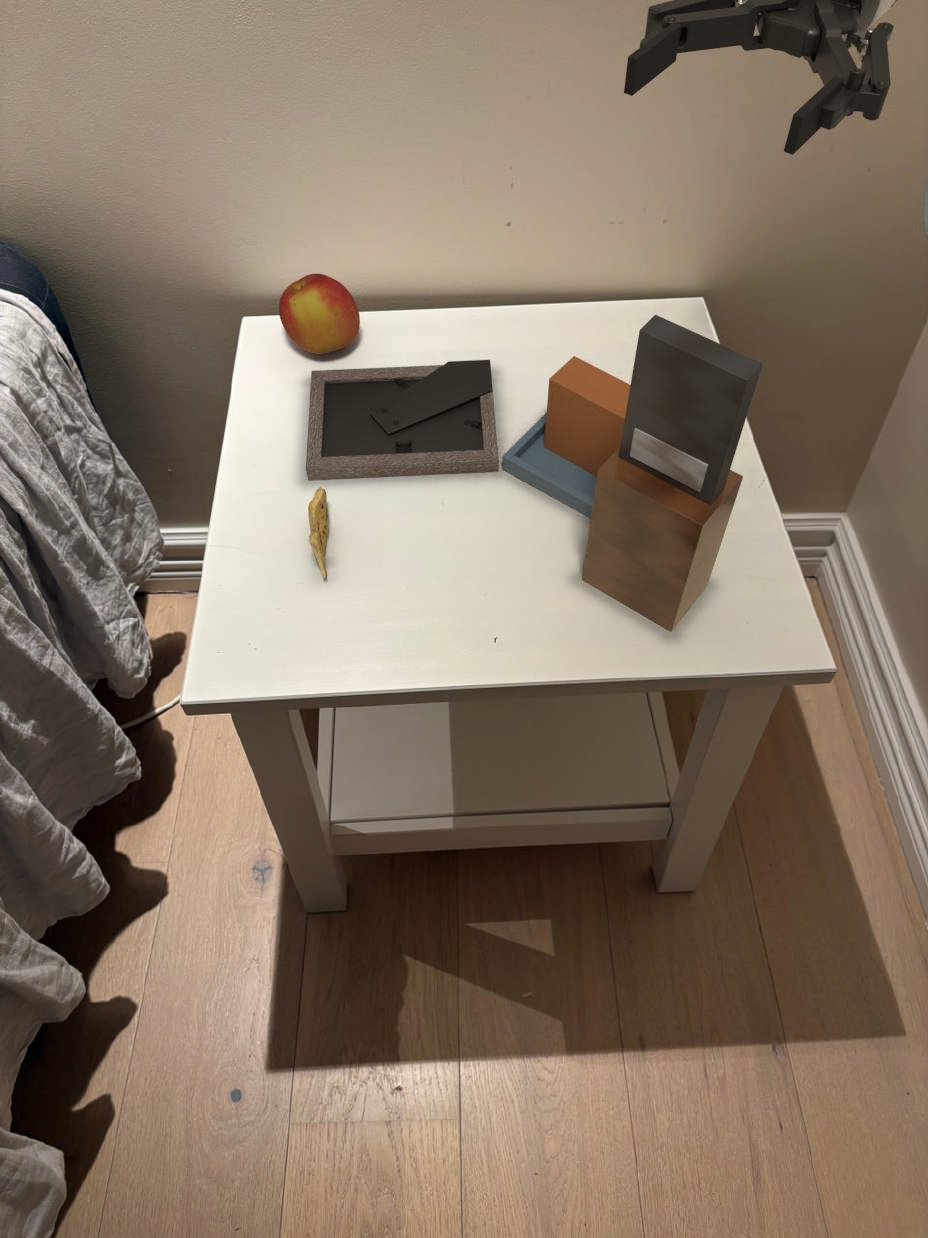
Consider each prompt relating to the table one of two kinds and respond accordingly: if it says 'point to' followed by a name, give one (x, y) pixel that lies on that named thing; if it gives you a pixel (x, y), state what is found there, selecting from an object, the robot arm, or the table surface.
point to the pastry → (318, 526)
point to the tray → (550, 470)
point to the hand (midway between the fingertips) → (708, 104)
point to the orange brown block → (585, 414)
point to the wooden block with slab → (670, 473)
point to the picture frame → (402, 421)
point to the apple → (319, 314)
